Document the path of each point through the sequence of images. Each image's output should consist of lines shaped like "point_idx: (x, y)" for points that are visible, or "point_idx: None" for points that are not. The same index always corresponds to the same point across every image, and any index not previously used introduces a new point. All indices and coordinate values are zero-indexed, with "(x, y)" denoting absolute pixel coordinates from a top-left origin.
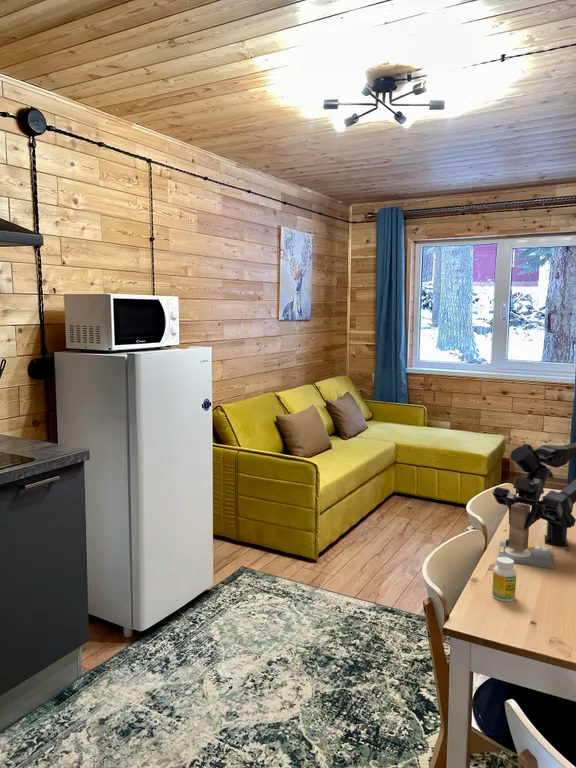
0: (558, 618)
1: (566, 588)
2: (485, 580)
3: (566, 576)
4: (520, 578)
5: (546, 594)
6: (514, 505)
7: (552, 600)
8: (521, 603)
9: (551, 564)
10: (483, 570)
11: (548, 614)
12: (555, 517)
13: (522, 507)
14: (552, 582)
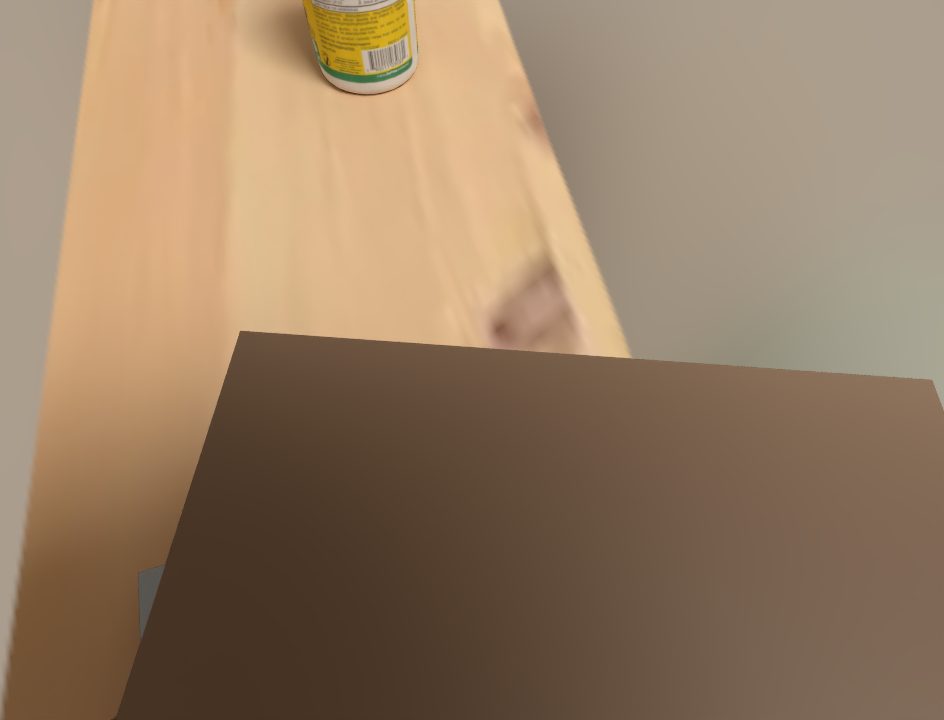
0: (131, 40)
1: (71, 306)
2: (500, 146)
3: (51, 496)
4: (348, 268)
5: (187, 181)
6: (869, 565)
7: (155, 145)
8: (287, 60)
9: (148, 571)
10: (565, 238)
11: (171, 45)
12: None
13: (387, 506)
14: (156, 333)
